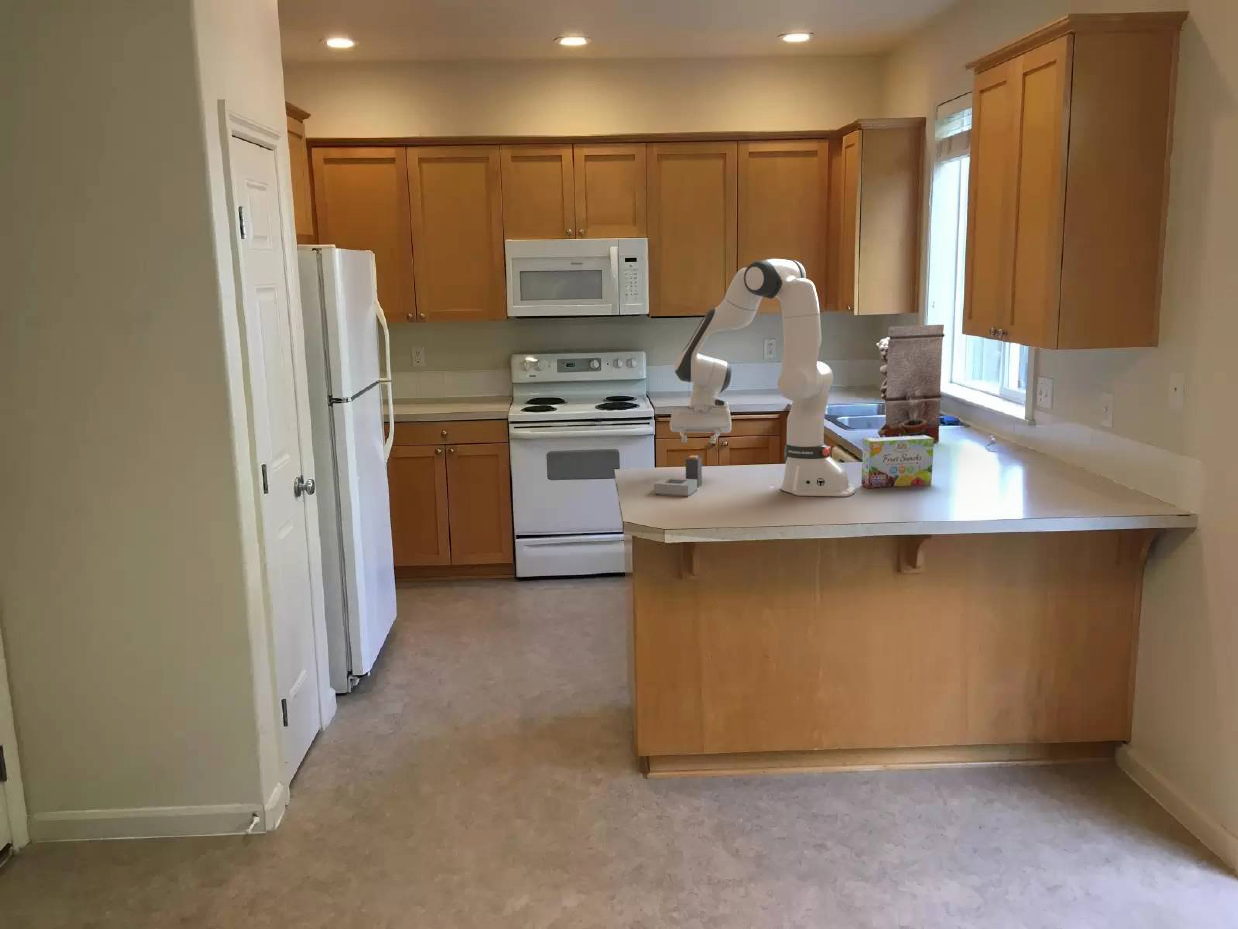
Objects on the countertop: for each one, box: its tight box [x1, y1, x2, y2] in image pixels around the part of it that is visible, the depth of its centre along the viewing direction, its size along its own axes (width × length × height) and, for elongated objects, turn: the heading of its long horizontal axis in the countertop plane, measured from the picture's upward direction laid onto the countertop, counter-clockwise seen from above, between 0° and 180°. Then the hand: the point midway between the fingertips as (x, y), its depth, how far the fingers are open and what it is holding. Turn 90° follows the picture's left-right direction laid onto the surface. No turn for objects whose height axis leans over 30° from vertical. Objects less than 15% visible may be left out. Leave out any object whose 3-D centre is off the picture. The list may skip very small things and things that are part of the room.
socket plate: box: [653, 477, 698, 498], centre depth 290 cm, size 11×9×4 cm
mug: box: [885, 419, 927, 437], centre depth 324 cm, size 18×12×15 cm, turn 118°
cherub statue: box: [876, 324, 946, 443], centre depth 363 cm, size 23×19×45 cm
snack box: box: [860, 435, 935, 489], centre depth 292 cm, size 21×6×15 cm, turn 101°
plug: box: [685, 455, 703, 489], centre depth 298 cm, size 4×4×10 cm
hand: (698, 441), depth 305 cm, fingers open, 8 cm apart
